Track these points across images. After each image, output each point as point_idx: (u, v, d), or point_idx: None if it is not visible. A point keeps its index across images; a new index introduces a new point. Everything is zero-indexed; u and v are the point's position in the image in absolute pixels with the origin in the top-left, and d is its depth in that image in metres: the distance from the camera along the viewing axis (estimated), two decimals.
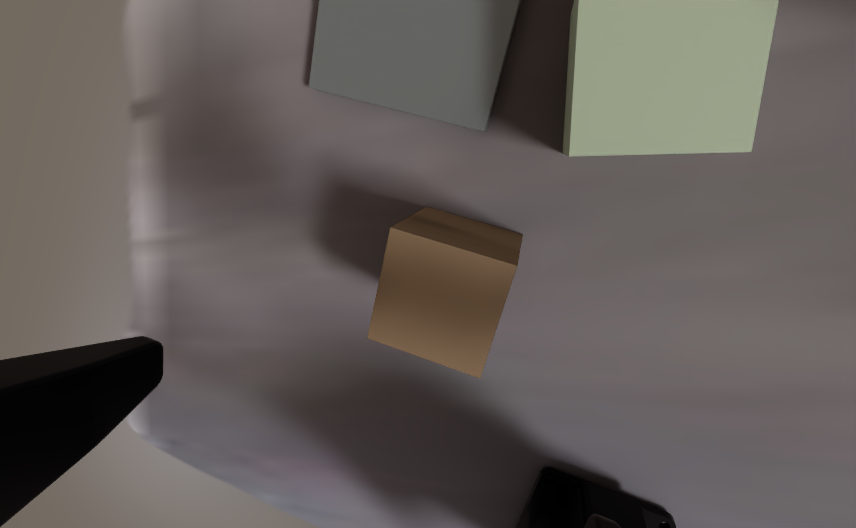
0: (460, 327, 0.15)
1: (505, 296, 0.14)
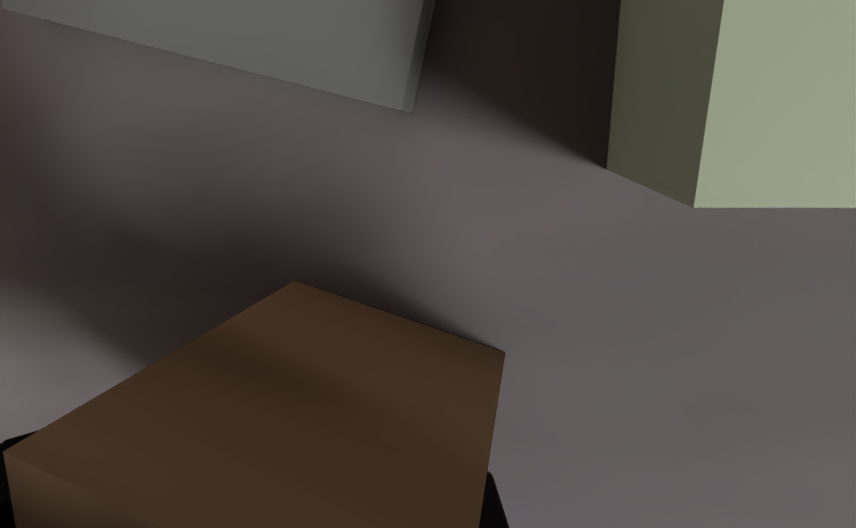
0: None
1: None
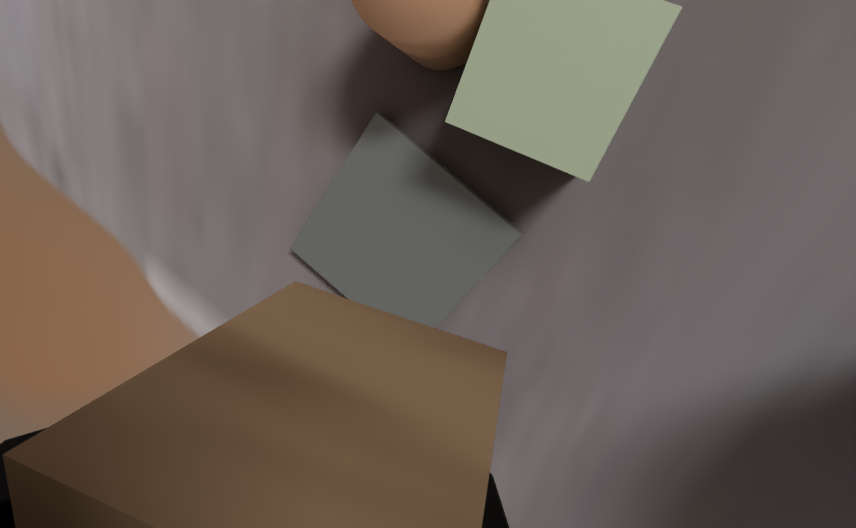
0: None
1: None
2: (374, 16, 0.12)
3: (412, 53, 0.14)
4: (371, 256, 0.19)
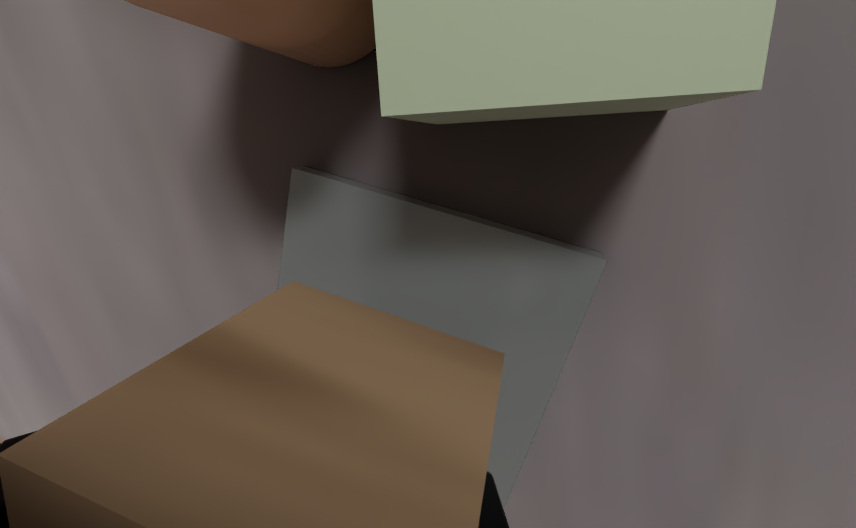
0: None
1: None
2: None
3: (280, 31, 0.07)
4: None
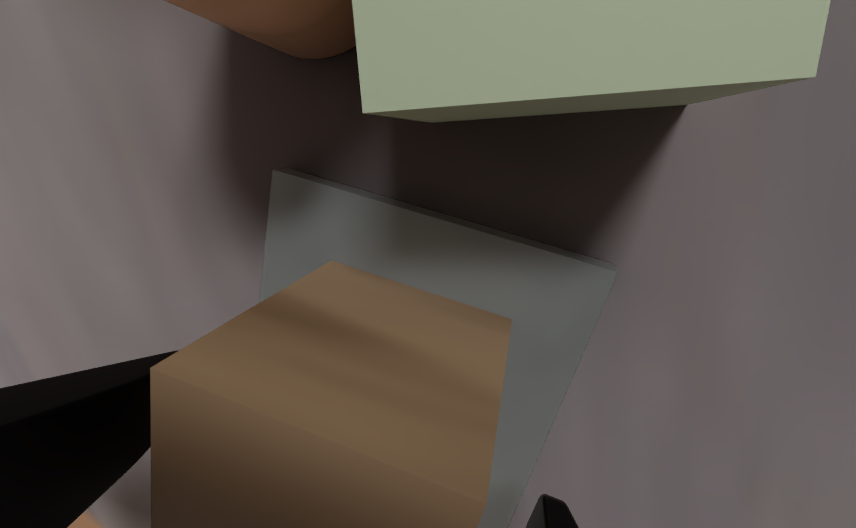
0: None
1: None
2: None
3: (283, 6, 0.06)
4: None
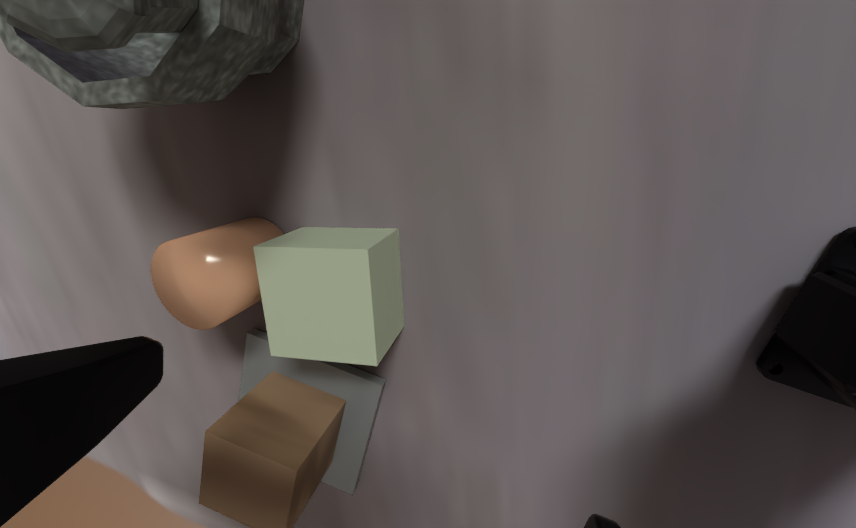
0: (264, 505, 0.18)
1: (292, 489, 0.18)
2: (202, 323, 0.17)
3: (248, 306, 0.19)
4: None
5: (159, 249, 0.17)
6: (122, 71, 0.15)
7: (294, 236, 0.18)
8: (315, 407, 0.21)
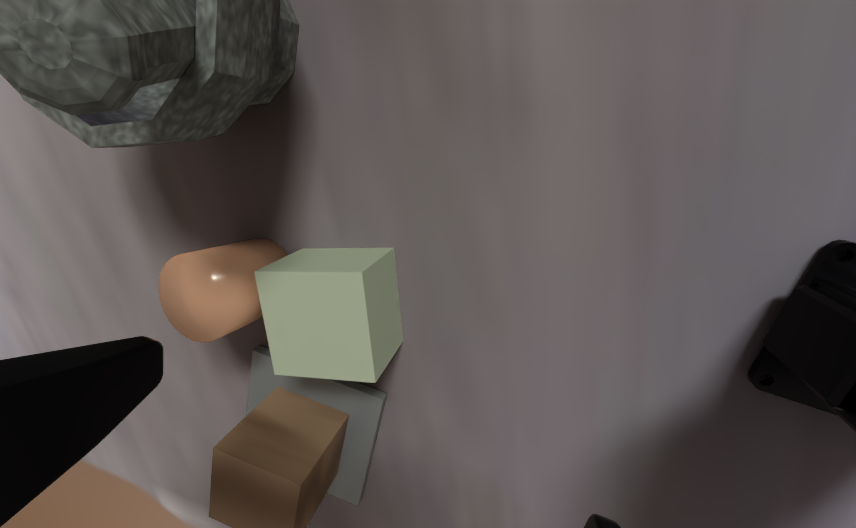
0: (270, 518, 0.19)
1: (296, 503, 0.18)
2: (213, 332, 0.18)
3: (256, 313, 0.19)
4: None
5: (163, 271, 0.18)
6: (128, 111, 0.16)
7: (293, 259, 0.19)
8: (319, 422, 0.22)
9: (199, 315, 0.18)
